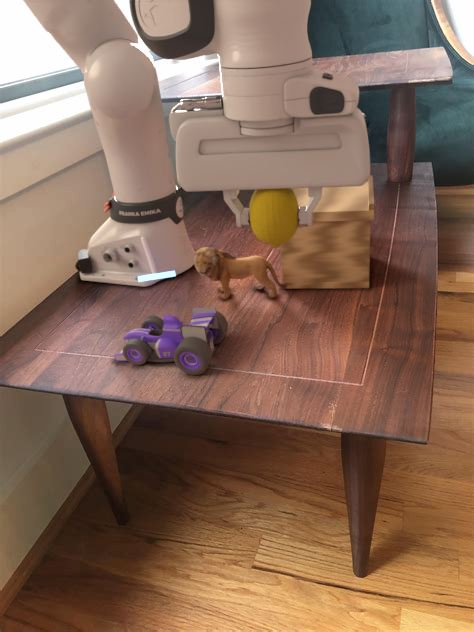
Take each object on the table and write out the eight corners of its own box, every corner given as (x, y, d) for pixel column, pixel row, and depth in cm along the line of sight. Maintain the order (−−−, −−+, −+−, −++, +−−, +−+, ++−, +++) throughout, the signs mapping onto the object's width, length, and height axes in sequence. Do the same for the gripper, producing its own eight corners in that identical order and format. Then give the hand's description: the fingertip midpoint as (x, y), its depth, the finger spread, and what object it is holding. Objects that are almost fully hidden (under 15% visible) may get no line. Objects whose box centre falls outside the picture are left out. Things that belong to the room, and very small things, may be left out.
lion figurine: (199, 305, 90) (190, 256, 85) (201, 289, 94) (193, 242, 90) (288, 297, 89) (284, 247, 84) (286, 281, 93) (282, 233, 89)
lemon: (261, 236, 65) (255, 170, 61) (306, 238, 63) (303, 171, 59) (245, 256, 61) (238, 187, 57) (293, 260, 59) (289, 188, 55)
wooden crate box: (280, 290, 91) (273, 207, 84) (288, 255, 102) (283, 179, 94) (372, 290, 88) (374, 203, 80) (371, 254, 99) (372, 175, 91)
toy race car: (139, 330, 85) (130, 294, 82) (230, 337, 81) (225, 299, 77) (110, 367, 78) (99, 329, 74) (209, 377, 73) (202, 337, 70)
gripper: (156, 106, 53) (178, 238, 60) (374, 92, 49) (369, 235, 56) (174, 94, 58) (192, 216, 65) (372, 80, 54) (367, 212, 61)
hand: (275, 225), depth 61 cm, fingers closed on lemon, 5 cm apart
